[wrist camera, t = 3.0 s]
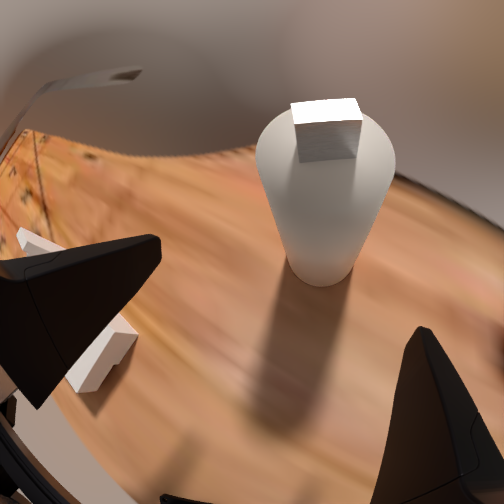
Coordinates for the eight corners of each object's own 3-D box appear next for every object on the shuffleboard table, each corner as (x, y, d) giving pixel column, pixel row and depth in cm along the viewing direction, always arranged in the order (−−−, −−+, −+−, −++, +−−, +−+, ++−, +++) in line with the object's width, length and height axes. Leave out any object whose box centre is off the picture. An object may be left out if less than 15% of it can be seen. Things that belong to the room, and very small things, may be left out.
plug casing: (290, 289, 20) (243, 190, 7) (285, 224, 22) (241, 74, 9) (359, 283, 19) (432, 175, 6) (349, 218, 21) (378, 62, 8)
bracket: (43, 301, 25) (-8, 286, 18) (72, 251, 26) (20, 226, 19) (103, 390, 21) (40, 396, 14) (140, 334, 22) (76, 326, 15)
